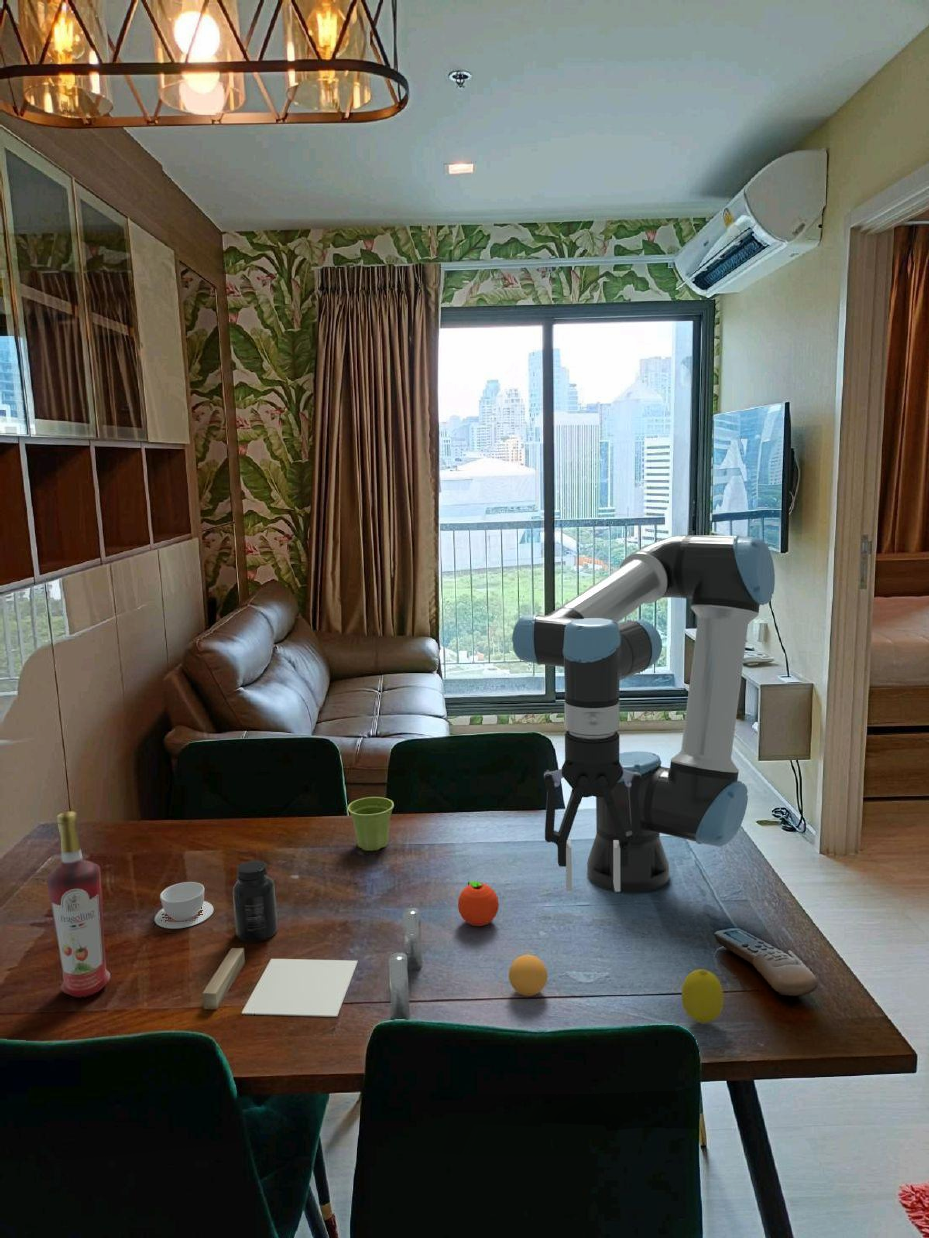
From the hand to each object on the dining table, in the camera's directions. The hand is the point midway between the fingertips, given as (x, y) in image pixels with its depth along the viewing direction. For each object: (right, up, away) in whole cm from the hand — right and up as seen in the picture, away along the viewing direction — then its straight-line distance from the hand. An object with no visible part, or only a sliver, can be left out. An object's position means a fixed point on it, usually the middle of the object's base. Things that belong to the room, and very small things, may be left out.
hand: (592, 886), depth 124 cm
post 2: (-26, -16, +12) cm, 33 cm away
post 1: (-27, -18, -1) cm, 33 cm away
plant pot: (-37, -9, +56) cm, 68 cm away
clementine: (-16, -14, +24) cm, 32 cm away
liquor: (-76, -18, +8) cm, 78 cm away
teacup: (-68, -15, +30) cm, 75 cm away
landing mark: (-43, -17, +7) cm, 47 cm away
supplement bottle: (-53, -15, +23) cm, 60 cm away
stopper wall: (-55, -17, +8) cm, 58 cm away
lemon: (+14, -18, -4) cm, 23 cm away
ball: (-9, -14, +3) cm, 17 cm away
